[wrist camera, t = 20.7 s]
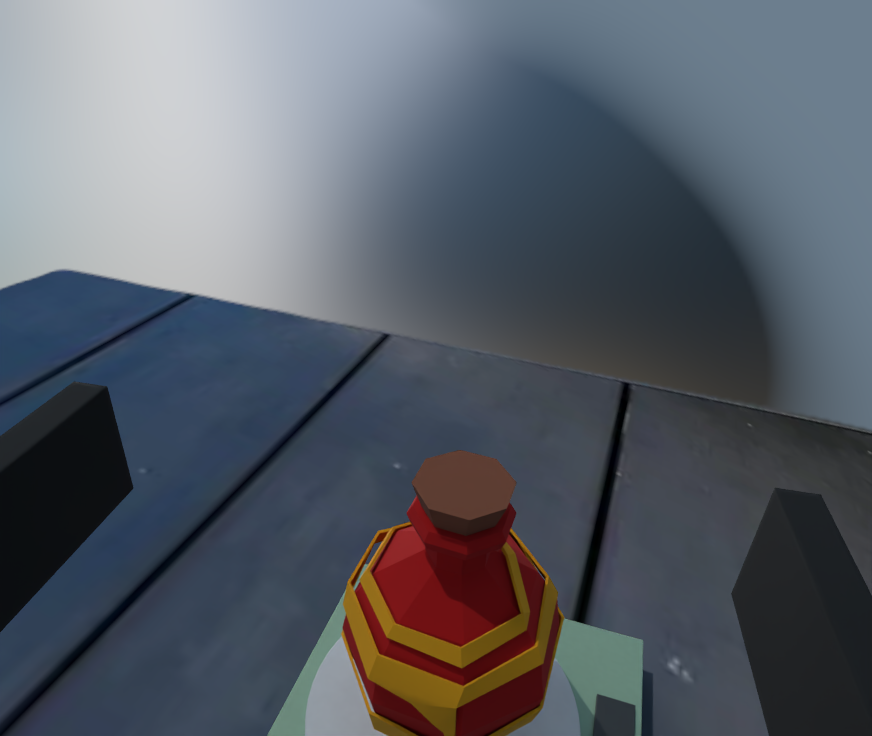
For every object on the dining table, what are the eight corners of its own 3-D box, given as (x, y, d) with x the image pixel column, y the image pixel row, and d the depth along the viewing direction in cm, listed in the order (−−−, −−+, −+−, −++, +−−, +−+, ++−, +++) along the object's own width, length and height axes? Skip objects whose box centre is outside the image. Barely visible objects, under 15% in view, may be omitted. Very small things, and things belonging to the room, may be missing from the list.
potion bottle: (583, 702, 33) (644, 481, 25) (455, 877, 26) (485, 645, 18) (435, 590, 39) (448, 383, 31) (299, 707, 32) (273, 479, 24)
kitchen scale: (634, 666, 38) (645, 633, 37) (623, 1015, 25) (639, 986, 23) (361, 588, 42) (360, 555, 41) (225, 851, 29) (216, 817, 28)
